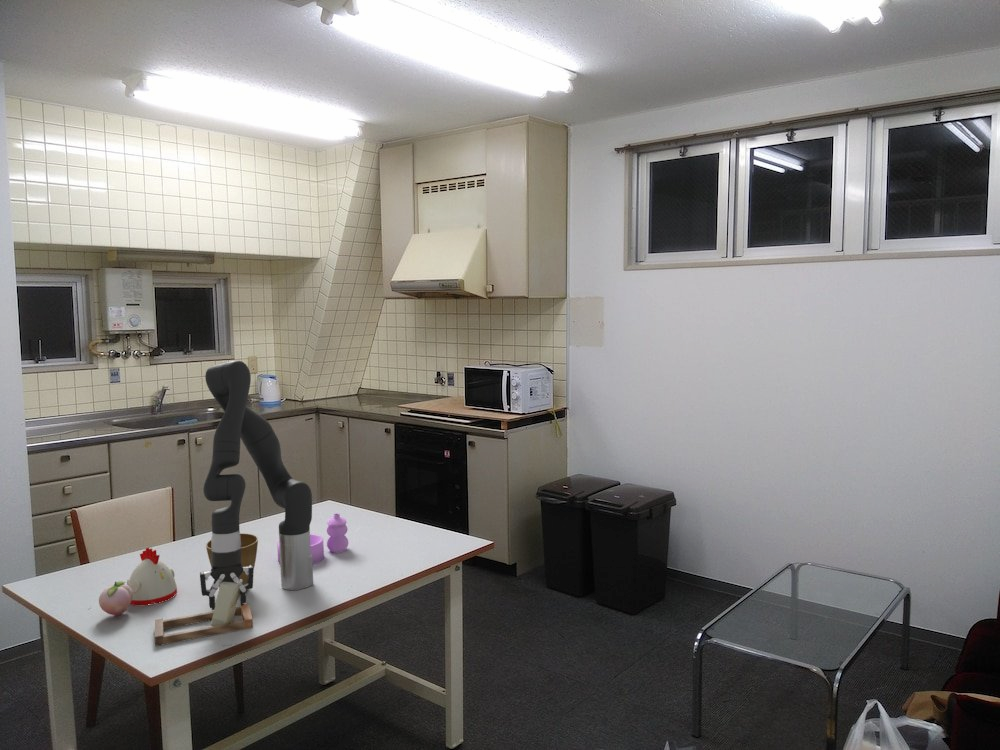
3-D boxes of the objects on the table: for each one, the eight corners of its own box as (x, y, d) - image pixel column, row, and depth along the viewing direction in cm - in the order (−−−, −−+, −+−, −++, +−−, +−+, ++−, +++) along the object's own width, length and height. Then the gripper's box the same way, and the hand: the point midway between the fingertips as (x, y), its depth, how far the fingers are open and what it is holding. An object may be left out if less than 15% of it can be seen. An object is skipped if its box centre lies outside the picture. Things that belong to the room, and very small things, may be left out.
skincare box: (225, 630, 197) (235, 588, 196) (209, 625, 197) (219, 583, 196) (233, 620, 204) (243, 579, 202) (218, 615, 203) (228, 575, 202)
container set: (288, 570, 241) (286, 531, 240) (271, 558, 253) (269, 521, 252) (357, 553, 256) (355, 517, 255) (338, 542, 269) (337, 507, 267)
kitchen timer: (145, 609, 212) (142, 559, 210) (116, 600, 218) (112, 551, 217) (186, 592, 224) (184, 544, 222) (157, 584, 231) (155, 538, 229)
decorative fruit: (105, 610, 211) (103, 577, 210) (136, 607, 213) (134, 574, 212) (95, 624, 202) (93, 589, 201) (127, 621, 204) (125, 586, 203)
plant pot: (205, 588, 226) (202, 538, 225) (255, 579, 234) (252, 530, 232) (212, 605, 213) (209, 552, 212) (265, 595, 221) (262, 543, 219)
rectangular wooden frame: (248, 611, 209) (247, 603, 209) (252, 627, 199) (252, 618, 198) (155, 628, 199) (154, 619, 198) (155, 646, 188) (154, 636, 188)
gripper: (252, 540, 205) (253, 598, 206) (197, 546, 199) (198, 606, 200) (255, 547, 199) (256, 607, 200) (198, 554, 192) (200, 616, 194)
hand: (227, 606), depth 200 cm, fingers closed on skincare box, 6 cm apart
